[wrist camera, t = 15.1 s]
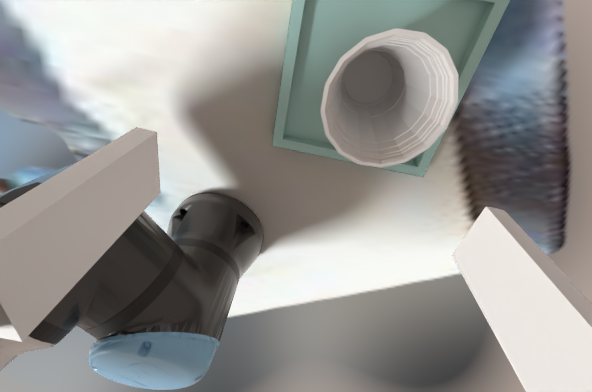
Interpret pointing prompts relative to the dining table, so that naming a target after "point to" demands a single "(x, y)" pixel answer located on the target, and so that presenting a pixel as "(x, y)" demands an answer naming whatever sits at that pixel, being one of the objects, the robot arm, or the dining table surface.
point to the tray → (348, 33)
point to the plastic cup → (389, 98)
